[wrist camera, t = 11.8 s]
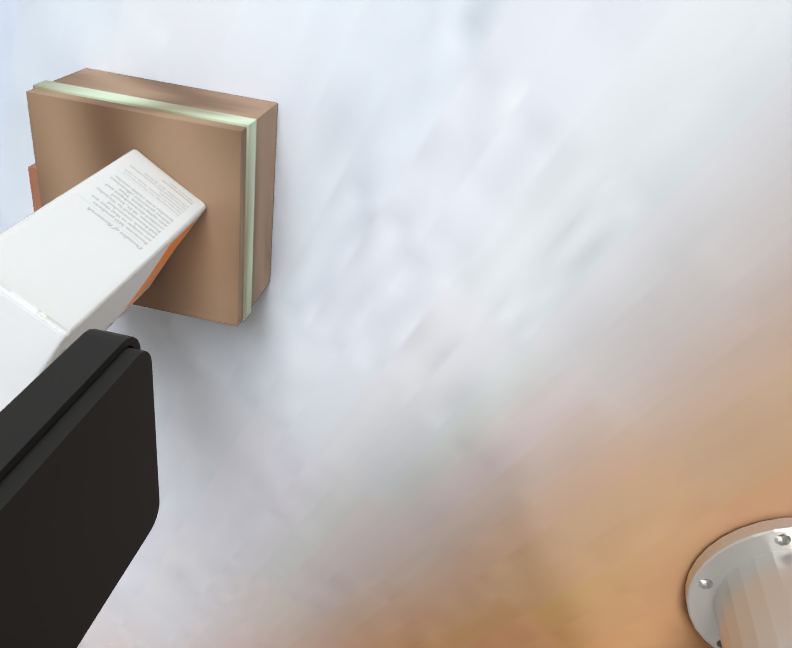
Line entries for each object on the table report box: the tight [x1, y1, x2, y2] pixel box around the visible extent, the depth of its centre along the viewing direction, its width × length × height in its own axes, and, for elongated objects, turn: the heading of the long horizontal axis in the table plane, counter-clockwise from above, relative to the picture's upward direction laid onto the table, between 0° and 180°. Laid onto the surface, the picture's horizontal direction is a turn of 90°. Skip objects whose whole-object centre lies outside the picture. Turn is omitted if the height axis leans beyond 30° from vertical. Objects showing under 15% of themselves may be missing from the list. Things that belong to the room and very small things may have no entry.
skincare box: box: [0, 149, 206, 411], centre depth 31 cm, size 6×4×12 cm
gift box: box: [26, 68, 278, 326], centre depth 38 cm, size 11×10×5 cm
